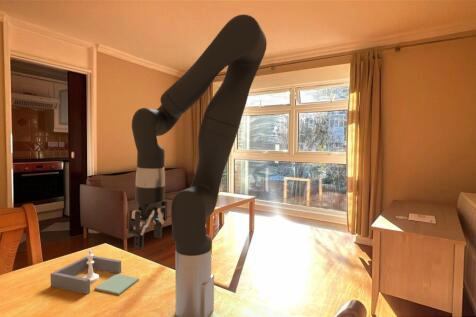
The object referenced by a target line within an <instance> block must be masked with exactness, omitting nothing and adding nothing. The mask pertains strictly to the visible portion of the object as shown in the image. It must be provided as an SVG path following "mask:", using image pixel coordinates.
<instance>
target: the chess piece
mask: <svg viewBox="0 0 476 317" xmlns="http://www.w3.org/2000/svg"><path fill="white" fill-rule="evenodd" d="M87 253H88V254H87V255H86V256H87V258H88V262H87V264H89V267H88V269H87V274H86V275H84V276H83V277H82V278H87V279H90V284H91V283H95V282H97V281H99V280H100V276H99V274H98V273H95V272H94V269H93V267H92V264H93V263H94V261H92V259H93V256H95V254H94V250H92V248H89V250H87Z"/></svg>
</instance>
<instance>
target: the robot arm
mask: <svg viewBox="0 0 476 317" xmlns="http://www.w3.org/2000/svg"><path fill="white" fill-rule="evenodd" d="M266 51H267V37H266V34H265V32H264V31H263V29H262V27H261V25H260V23H259V22H258V20H257V19H256V18H254V17H253V16H251V15H249V14H237V15H236V16H233V17H232V18H231V19H230V20H228V21H227V23H226V24H225V25H224V26H223V27H222V28H221V30H220V31H219V32H218V34H216V36H215V37H214V38H213V40H212V41H211V42H210V44H209V45H207V47H206V48H205V50H204V51H203V52H202V53H201V55H200V56H199V57H198V58H197V60H196V61H195V62H194V63H193V64H192V66H190V68H189V69H188V70H187V71H186V72H185V73H184V74H182V76H181V77H180V78H178V79H177V80H176V81H175V82H174V83H172V85H171V86H169V87H168V88H167V90H165V91H164V92H163V93H162V94H161V96H160V106H159V107H158V108H156V109H153V108H148V107H141V108H139V109H137V110H136V111H135V112H134V114H133V117H132V118H131V130H132V136H133V140H134V144H135V148H136V151H137V153H136V155H137V156H136V157H137V158H136V174H135V196H134V200H135V202H136V203H137V204H138V206H137V207H138V208H137V209H136V210H133V209H130V210H129V212H128V213H129V215H128V228H127V229H128V231H127V233H128V234H129V235H133V236H134V241H133V242H134V244H133V245H134V248H135V249H136V250H137V249H139V250H143V249H144V247H145V246H144V244H145V242H144V241H145V240H144V239H145V231H146V229H147V228H148V227H149V226H150V223H152V222H153V223H154V224H153V238H157V239H160V238H162V237H163V225H164V223H165V222H166V221H167V220H168V200H165V192H166V191H165V189H166V171H165V158H166V157H165V156H166V154H165V152H166V151H165V148H164V146H161V145H159V144H158V138H157V137H161V136H163V135H165V134H167V133H168V132H170V131H171V130H172V129H173V127H174V126H175V125H176V124H177V122H178V121H179V120H180V118H181V117H182V115H183V114H185V113H186V112H187V111H188V110H189V109H190V108H192V106H194V105H195V104H196V103H198V102H199V101H200V99H201V98H203V96H204V95H205V94H206V92H207V90H208V89H209V88H210V86H211V85H212V82H213V81H214V80H215V79H216V78H217V76H218V75H219V74H220V73H221V72H222V71H223V70H224V69H225V68H226V67H227V69H226V72H225V75H224V78H223V80H222V82H221V85H220V87H219V88H218V89H217V91H216V92H215V94H214V95H213V96H212V98H211V99H210V101H209V103H208V104H207V106H206V109H205V111H204V114H203V117H202V120H201V124H200V127H199V130H198V136H197V149H198V150H197V151H198V155H197V156H198V161H197V162H198V164H197V168H196V171H195V174H194V178H193V179H192V183H191V184H190V187H188V188H185V189H183V190H180V191H178V192H177V193H176V194H175V195H174V197H173V200H172V201H171V210H170V211H171V212H170V213H171V214H170V216H171V217H170V218H171V234H172V239H173V243H174V244H175V317H210V315H212V314H211V313H213V310H214V309H215V308H214V307H215V302H214V301H215V275H214V274H212V243H213V242H212V237H211V236H210V235H209V234H207V227H206V226H207V222H206V221H207V219H208V218H209V217H211V215H212V214H213V213H214V211H215V210H216V206H217V203H218V197H219V194H220V193H219V192H220V187H221V183H222V178H223V174H224V171H225V169H226V166H227V164H228V161H229V158H230V155H231V152H232V149H233V146H234V144H235V141H236V137H237V136H238V131H239V128H240V126H241V121H242V117H243V115H244V111H245V108H246V105H247V101H248V98H249V94H250V90H251V88H252V84H253V82H254V79H255V77H256V75H257V72H258V71H259V68H260V65H261V63H262V62H263V59H264V57H265V54H266Z"/></svg>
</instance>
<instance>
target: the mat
mask: <svg viewBox="0 0 476 317" xmlns="http://www.w3.org/2000/svg"><path fill="white" fill-rule="evenodd" d="M139 281H140V278H138V277H134V276H129V275H122V274H120V273H119V274H118V273H114V275H112V276H111V277H109V278H107V279H106V280H105V281H103V282H100V283H99V284H98V285H97V286H95V287H94V290H95V291H99V292H103V293H108V294H113V295H118V296H120V295H121V294H123V293H124V292H125V291H127V290H128V289H130V288H131V287H132V286H134V285H135V284H136V283H138V282H139Z"/></svg>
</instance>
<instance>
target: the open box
mask: <svg viewBox="0 0 476 317" xmlns="http://www.w3.org/2000/svg"><path fill="white" fill-rule="evenodd" d="M92 261H94V263H93V264H92V267H93V270H98V271H103V272H110V273H114V274H119V275H120V274H121V273H122V260H120V259H114V258H109V257H102V256H98V255H94V256H93V259H92ZM87 262H88V258H87V255H86V256H84V257H82V258H80V259H78V260H76V261H73V262H72V263H69V264H67V265H65V266H63V267H61V268H59V269H58V270H55V271H53V272H51V273H50V287H53V288H57V289H61V290H66V291H70V292H74V293H79V294H84V295H89V293H91V283H90V279H87V278H83V277H81V276H77V275H79V274H80V273H82V272H84V271H86V270H88V267H89V264H87Z"/></svg>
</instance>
